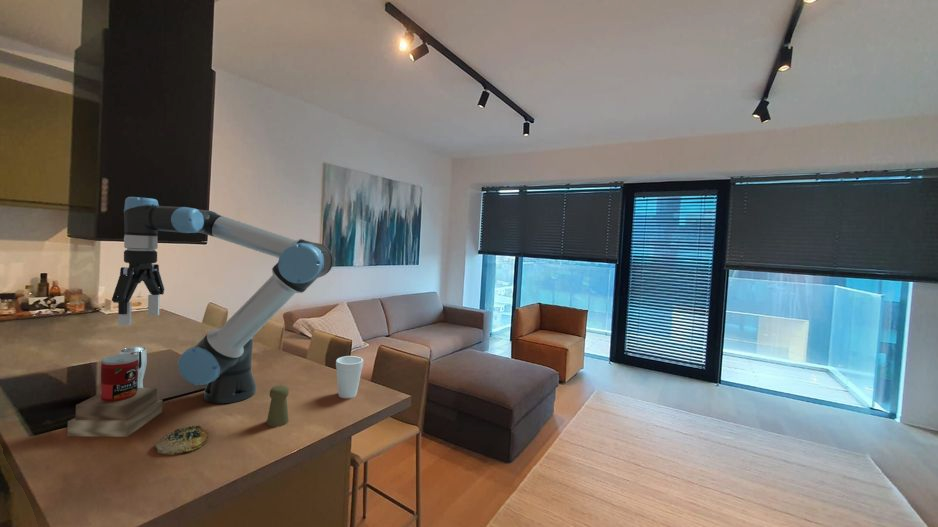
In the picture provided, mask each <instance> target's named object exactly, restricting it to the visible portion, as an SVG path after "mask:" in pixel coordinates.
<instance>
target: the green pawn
mask: <svg viewBox="0 0 938 527" xmlns="http://www.w3.org/2000/svg"><path fill="white" fill-rule="evenodd" d="M289 392H290V391H289V387H288V386H287V385H284V384H283V385H282V384H280V385H279V384H278V385H274V387H272V388H271V389H270V390H269V398H271V400H270V405H269V408H268V409H269V410H268V414H267V420H266V426H268V427H270V426H272V427H271V428H278V427H277V426H279V427H283V426H285V425H286V424H288V423H289V420H290V419H289V412H288V401H287V400H288V399H287V398H288V395H289ZM282 425H283V426H282Z"/></svg>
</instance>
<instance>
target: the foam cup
mask: <svg viewBox="0 0 938 527" xmlns="http://www.w3.org/2000/svg"><path fill="white" fill-rule="evenodd" d="M363 367H364V359H363V357H360V356H355V355H345V356H341V357H338V358H336V360H335V369H336V379H337V392H338V397H339V398H341V399H352V398H355V397H356V396H357V394H358V389H359V385H360V379H361V376H362V375H361V374H362V369H363Z"/></svg>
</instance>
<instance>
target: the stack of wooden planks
mask: <svg viewBox="0 0 938 527" xmlns="http://www.w3.org/2000/svg"><path fill="white" fill-rule="evenodd" d="M100 394H101V392H100V393H98V394H96V395H94V396H92V397H89V398H88V399H86V400H84V401H81V402H79V403H77V404H76V405H75V417H73V418H71V419H69V420H68V421H67V437H108V438H109V437H110V438H111V437H112V438H113V437H114V438H115V437H116V438H117V437H121V438H123V437H126V438H128V437H129V436H131V435H132V434H133V433H135V432H136V431H138V430H140V428H142V427H143V426H144V425H146V424H148V423H149V422H151V421H152V420H153V419H155V418H157V417H158V416H159V415H161V414H162V413H163V403H164V402H163V399H157V398H158V388H157V387H143V388H137V393H136V395H134V396H133V397H131V398H128V399H125V400H120V401H104V400H102V399H101V396H100Z"/></svg>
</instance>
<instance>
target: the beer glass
mask: <svg viewBox="0 0 938 527" xmlns="http://www.w3.org/2000/svg"><path fill="white" fill-rule="evenodd" d="M119 354H135V355H138V358H139V359H138V388H144V377H145V374H146V369H147V362H148V356H147V347H146V346H131V347H126V348H125V347H124V348H122V349H120V350H119Z"/></svg>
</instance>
